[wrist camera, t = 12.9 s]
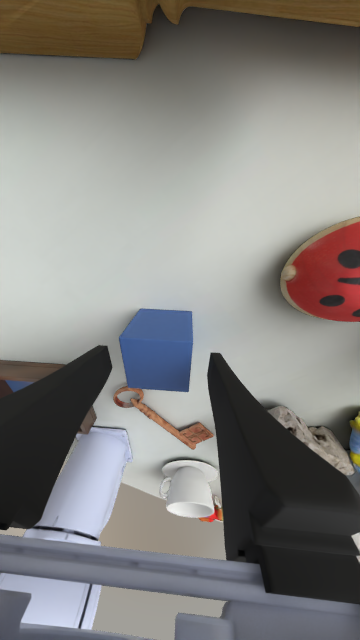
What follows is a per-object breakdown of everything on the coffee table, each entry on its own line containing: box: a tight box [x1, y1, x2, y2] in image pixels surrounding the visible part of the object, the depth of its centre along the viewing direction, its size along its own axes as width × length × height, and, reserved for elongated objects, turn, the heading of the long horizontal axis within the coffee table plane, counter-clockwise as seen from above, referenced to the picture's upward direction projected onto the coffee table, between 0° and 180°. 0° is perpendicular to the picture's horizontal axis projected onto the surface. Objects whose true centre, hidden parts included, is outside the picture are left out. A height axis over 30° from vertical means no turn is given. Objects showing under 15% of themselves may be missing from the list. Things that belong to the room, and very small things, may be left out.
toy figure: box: [199, 496, 223, 522], centre depth 33 cm, size 8×12×3 cm
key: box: [113, 386, 214, 450], centre depth 20 cm, size 6×1×15 cm
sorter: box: [0, 360, 97, 435], centre depth 18 cm, size 18×10×2 cm, turn 88°
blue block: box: [119, 309, 193, 392], centre depth 12 cm, size 4×4×4 cm
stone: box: [267, 406, 354, 475], centre depth 18 cm, size 13×6×10 cm
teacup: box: [160, 460, 218, 518], centre depth 25 cm, size 10×10×5 cm
